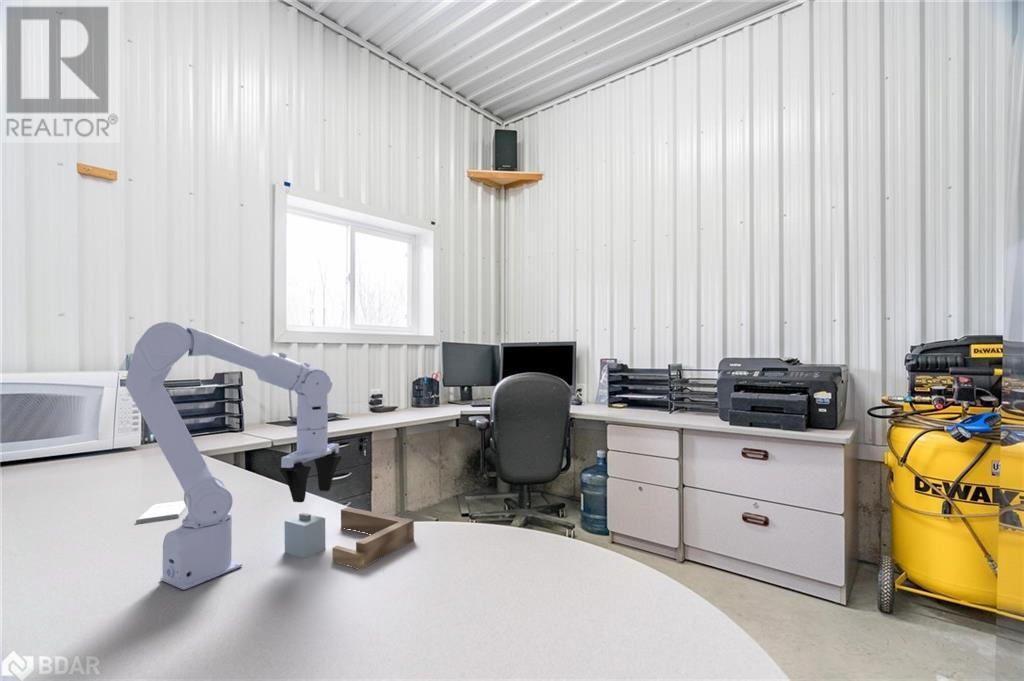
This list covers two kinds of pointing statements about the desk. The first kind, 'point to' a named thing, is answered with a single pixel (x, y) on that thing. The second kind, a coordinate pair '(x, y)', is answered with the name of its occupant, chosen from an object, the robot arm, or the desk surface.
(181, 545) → the robot arm
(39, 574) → the desk surface
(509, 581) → the desk surface
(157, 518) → the external hard drive
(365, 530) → the wooden frame
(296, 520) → the cabinet block
